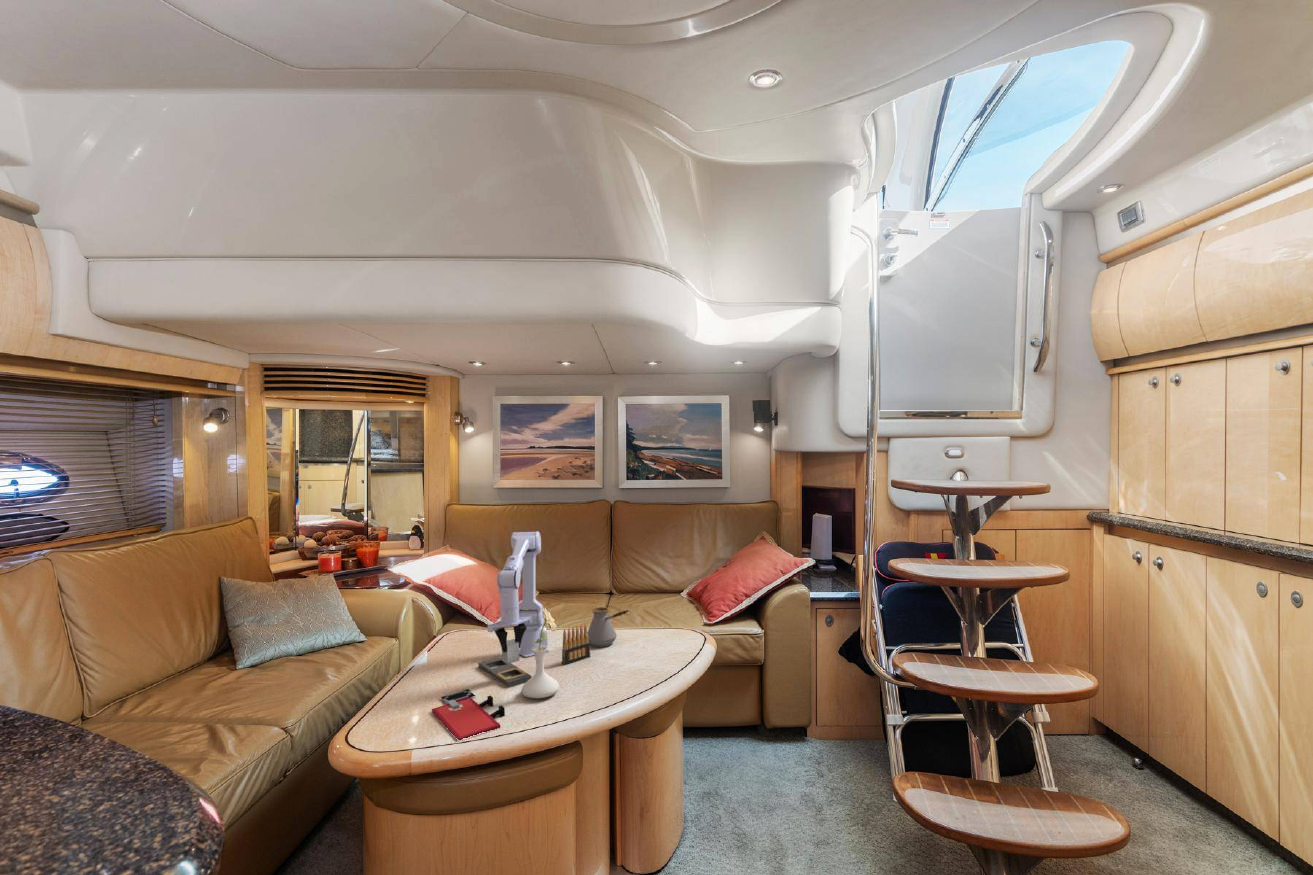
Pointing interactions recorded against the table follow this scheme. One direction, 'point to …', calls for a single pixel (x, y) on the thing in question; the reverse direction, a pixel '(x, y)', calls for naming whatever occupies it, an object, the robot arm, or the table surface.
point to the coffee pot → (602, 627)
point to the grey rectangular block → (511, 652)
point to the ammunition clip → (575, 645)
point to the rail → (504, 672)
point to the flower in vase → (541, 667)
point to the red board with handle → (467, 714)
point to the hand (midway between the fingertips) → (511, 649)
